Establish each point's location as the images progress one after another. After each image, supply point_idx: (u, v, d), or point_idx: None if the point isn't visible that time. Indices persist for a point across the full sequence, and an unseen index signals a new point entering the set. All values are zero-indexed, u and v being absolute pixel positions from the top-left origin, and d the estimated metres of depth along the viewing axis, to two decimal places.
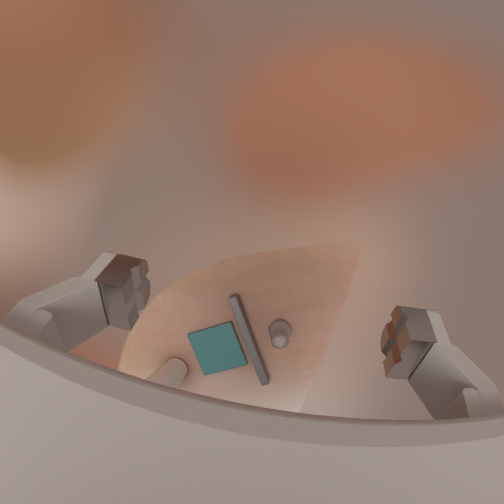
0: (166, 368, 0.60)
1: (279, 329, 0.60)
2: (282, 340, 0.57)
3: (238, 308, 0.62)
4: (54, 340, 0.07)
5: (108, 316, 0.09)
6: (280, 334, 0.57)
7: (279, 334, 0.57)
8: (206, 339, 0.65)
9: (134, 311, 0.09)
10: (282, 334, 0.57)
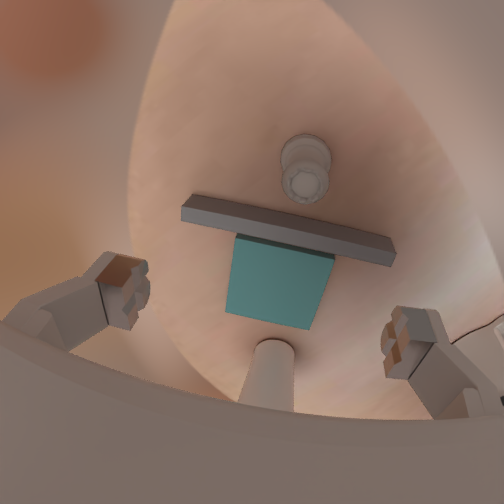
0: (245, 384, 0.33)
1: (291, 163, 0.23)
2: (305, 177, 0.20)
3: (206, 213, 0.28)
4: (54, 340, 0.07)
5: (108, 316, 0.09)
6: (288, 171, 0.20)
7: (287, 174, 0.21)
8: (247, 291, 0.34)
9: (134, 311, 0.09)
10: (291, 167, 0.20)
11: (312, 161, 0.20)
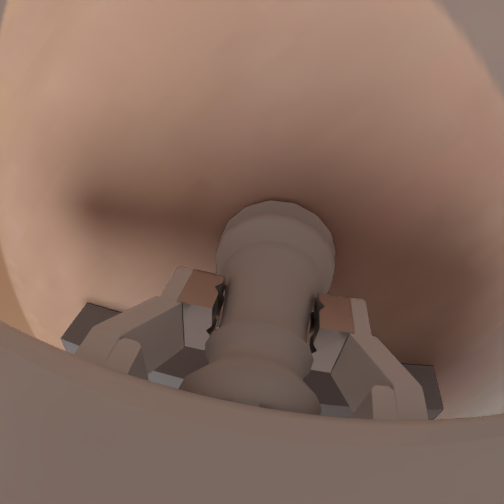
0: None
1: (224, 306, 0.09)
2: None
3: None
4: (141, 372, 0.07)
5: (187, 337, 0.09)
6: None
7: None
8: None
9: (215, 329, 0.09)
10: (197, 388, 0.06)
11: (264, 375, 0.06)
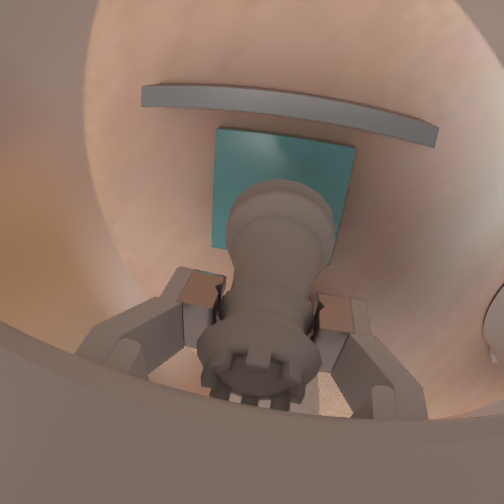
0: None
1: (235, 271, 0.10)
2: None
3: (173, 89, 0.18)
4: (141, 372, 0.07)
5: (187, 337, 0.09)
6: (208, 347, 0.07)
7: (205, 351, 0.07)
8: None
9: None
10: (215, 338, 0.07)
11: (275, 327, 0.07)
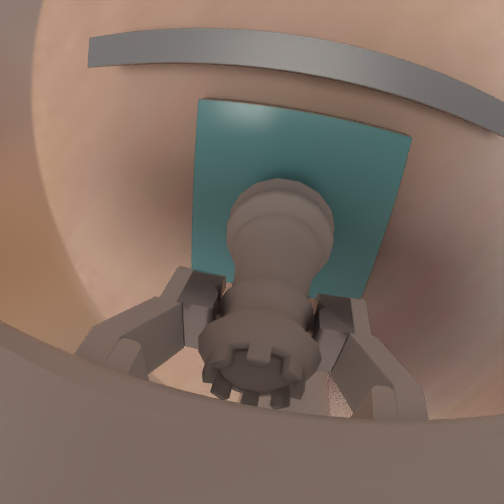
0: None
1: (236, 269, 0.10)
2: None
3: (132, 36, 0.10)
4: (141, 372, 0.07)
5: (187, 337, 0.09)
6: (209, 343, 0.07)
7: (206, 347, 0.07)
8: None
9: None
10: (217, 334, 0.07)
11: (276, 322, 0.07)
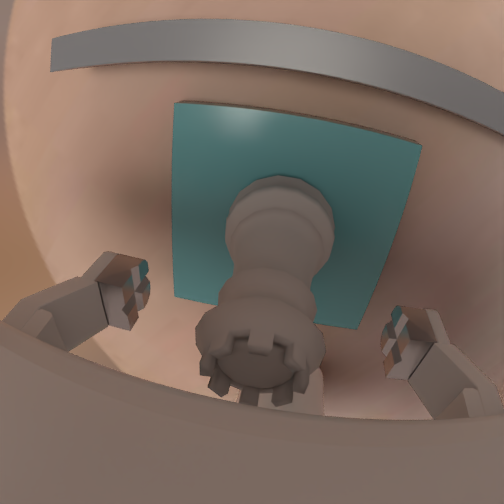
0: None
1: (235, 263, 0.10)
2: (254, 355, 0.07)
3: (96, 34, 0.08)
4: (54, 340, 0.07)
5: (108, 316, 0.09)
6: (207, 333, 0.07)
7: (204, 337, 0.07)
8: (214, 245, 0.15)
9: (134, 311, 0.09)
10: (215, 322, 0.07)
11: (278, 308, 0.07)
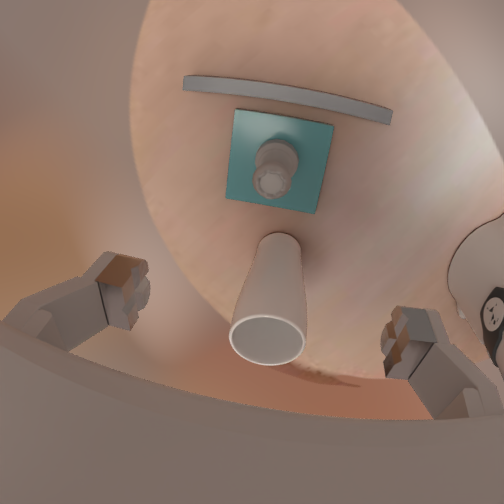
0: (250, 271, 0.32)
1: (262, 164, 0.28)
2: (271, 177, 0.25)
3: (207, 79, 0.26)
4: (54, 340, 0.07)
5: (108, 316, 0.09)
6: (257, 173, 0.25)
7: (256, 174, 0.25)
8: (248, 169, 0.33)
9: (134, 311, 0.09)
10: (260, 169, 0.25)
11: (277, 164, 0.25)
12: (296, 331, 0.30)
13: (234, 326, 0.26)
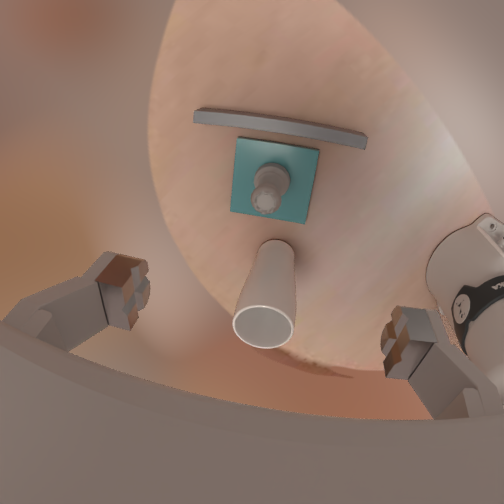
0: (250, 272, 0.39)
1: (258, 185, 0.35)
2: (265, 197, 0.32)
3: (213, 114, 0.34)
4: (54, 340, 0.07)
5: (108, 316, 0.09)
6: (254, 193, 0.32)
7: (253, 195, 0.32)
8: (248, 188, 0.40)
9: (134, 310, 0.09)
10: (256, 190, 0.32)
11: (270, 186, 0.32)
12: (288, 321, 0.36)
13: (236, 315, 0.33)
